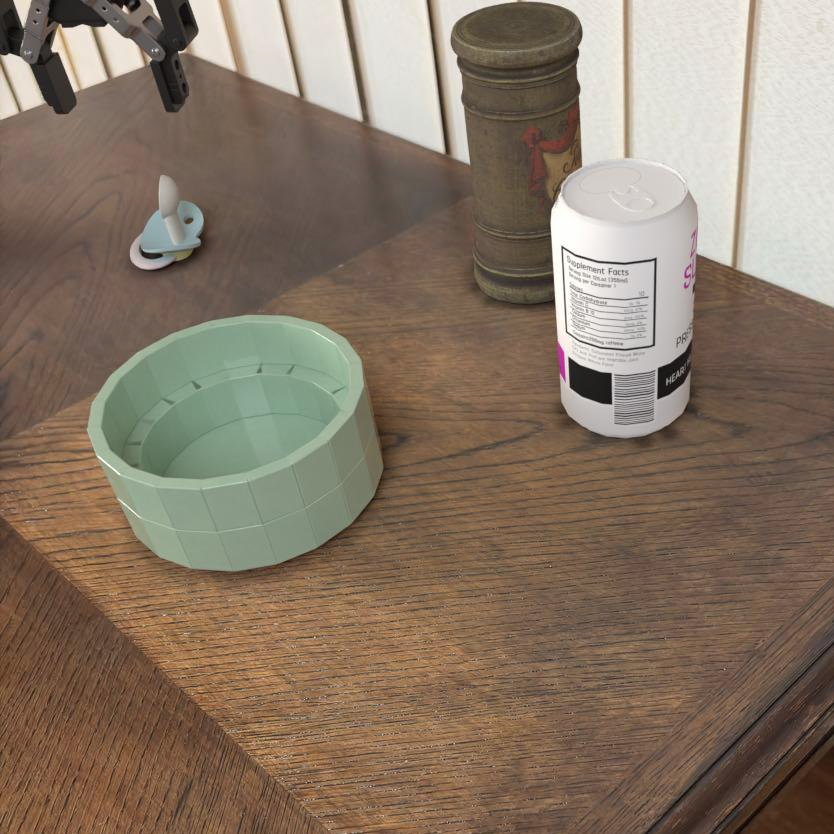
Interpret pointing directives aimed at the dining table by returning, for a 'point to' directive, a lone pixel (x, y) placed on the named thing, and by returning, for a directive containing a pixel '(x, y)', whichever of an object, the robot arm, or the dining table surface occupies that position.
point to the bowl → (239, 441)
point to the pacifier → (168, 229)
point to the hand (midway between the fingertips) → (121, 109)
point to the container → (518, 138)
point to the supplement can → (624, 294)
